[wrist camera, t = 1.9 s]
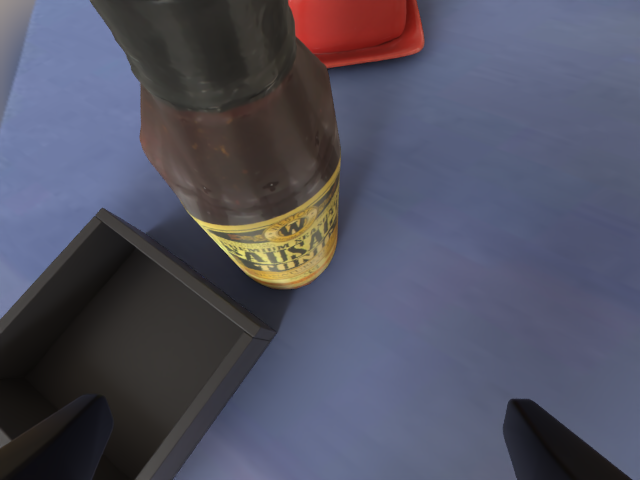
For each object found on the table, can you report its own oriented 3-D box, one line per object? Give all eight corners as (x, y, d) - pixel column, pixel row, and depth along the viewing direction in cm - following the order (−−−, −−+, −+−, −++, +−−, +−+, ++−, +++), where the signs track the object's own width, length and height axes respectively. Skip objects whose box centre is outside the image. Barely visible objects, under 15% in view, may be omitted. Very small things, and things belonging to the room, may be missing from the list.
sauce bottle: (264, 311, 22) (-182, 68, 3) (226, 226, 24) (-201, -244, 5) (359, 263, 23) (439, -183, 4) (315, 183, 25) (222, -386, 6)
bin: (151, 509, 20) (97, 553, 15) (18, 379, 22) (-61, 385, 18) (277, 332, 22) (261, 327, 18) (144, 232, 24) (101, 206, 20)
